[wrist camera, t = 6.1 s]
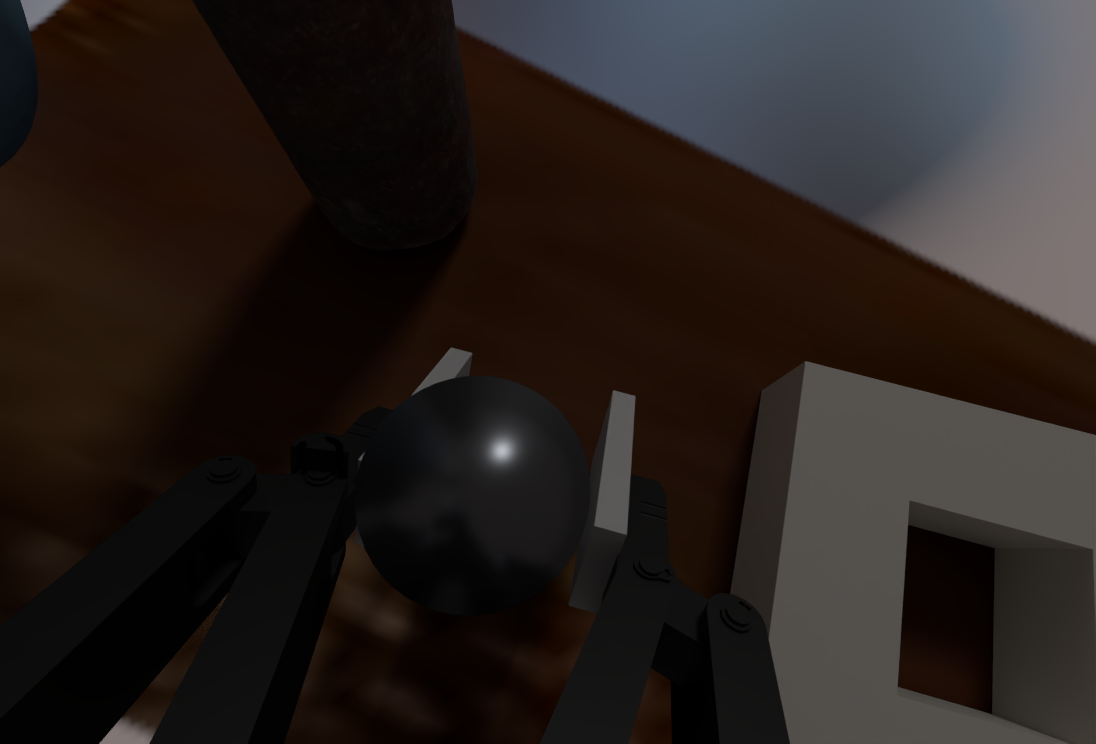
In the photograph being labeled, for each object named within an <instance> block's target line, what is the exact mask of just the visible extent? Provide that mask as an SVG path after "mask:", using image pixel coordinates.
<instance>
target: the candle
mask: <svg viewBox="0 0 1096 744" xmlns="http://www.w3.org/2000/svg"><path fill="white" fill-rule="evenodd" d="M192 1H193V2H194V4H195V6H196V7H197V9H198V11H199V12H200V14H201V16H202V17H203V19H204V20H205V22H206V23H207V25H208V26H209V28H210V30H211V31H212V33H213V35H214V37H215V38H216V40H217V42H218V44H219V45H220V47H221V49H222V50H223V52H224V53H225V55H226V56H227V58H228V60H229V61H230V63H231V64H232V66H233V68H234V69H235V71H236V73H237V74H238V76H239V78H240V79H241V81H242V82H243V84H244V86H245V87H246V89H247V90H248V92H249V94H250V95H251V97H252V98H253V100H254V102H255V103H256V105H257V106H258V108H259V110H260V111H261V113H262V114H263V116H264V118H265V119H266V121H267V123H268V124H269V126H270V128H271V129H272V131H273V133H274V134H275V136H276V137H277V139H278V141H279V142H280V144H281V145H282V147H283V149H284V150H285V152H286V153H287V155H288V157H289V158H290V160H291V162H292V163H293V165H294V167H295V169H296V170H297V172H298V174H299V175H300V177H301V178H302V180H303V181H304V183H305V185H306V186H307V188H308V189H309V191H310V192H311V194H312V195H313V197H314V198H315V200H316V201H317V203H318V205H319V206H320V208H321V209H322V211H323V212H324V214H325V216H326V217H327V218H328V219H329V221H330V222H331V223H332V224H333V226H334V227H335V228H336V229H337V230H338V231H339V232H340V233H341V234H342V235H343V236H344V237H345V238H347V239H349V240H350V241H352V242H354V243H355V244H357V245H359V246H363V247H367V248H369V249H374V250H379V251H387V250H396V249H409V248H414V247H419V246H422V245H427V244H430V243H432V242H434V241H437V240H440V239H443V238H444V237H445V236H446V235H448V234H449V233H450V232H451V231H453V230H454V228H455V226H456V225H457V224H458V223H460V222H461V221H462V219H463V218H464V216H465V215H466V213H467V212H468V210H469V208H470V207H471V206H472V204H473V202H474V200H475V198H476V193H477V185H478V171H477V164H476V156H475V147H474V139H473V133H472V127H471V120H470V113H469V106H468V100H467V95H466V89H465V82H464V76H463V70H462V63H461V57H460V51H459V44H458V37H457V32H456V28H455V22H454V14H453V6H452V1H451V0H192Z"/></svg>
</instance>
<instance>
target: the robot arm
mask: <svg viewBox="0 0 1096 744" xmlns="http://www.w3.org/2000/svg"><path fill="white" fill-rule="evenodd" d="M37 101H38V79H37V65H36V58H35V53H34V49H33V44H32V39H31V35H30V31H29V28H28V24H27V21H26V17H25V14H24V10H23V7H22V4H21V2H20V0H0V167H1V166H2V165H4V164H5V163H6V162H7V161H8V160H10V159H11V158H12V157H13V156H14V155H15V154H16V153H17V151H18V150H19V149H20V148H21V146H22V145H23V143H24V142H25V140H26V138H27V136H28V134H29V132H30V130H31V128H32V125H33V121H34V117H35V113H36V108H37ZM471 359H472V353H470V352H466V351H462V350H458V349H454V348H450V349H449V351H448V352H447V353H446V354H445V356H444V357H443V358H442V359H441V360H440V362H439V363H438V364H437V365H436V366H435V368H434V369H433V370H432V371H431V372H430V374H429V375H428V376H427V377H426V378H425V380H424V381H423V382H422V383H421V385H420V386H419V387H418V388H417V389H416V391H415V392H414V393H413V394H412V395H414V394H415V393H417V392H419V391H420V390H422V389H424V388H426V387H429V386H431V385H433V384H435V383H438V382H442V381H445V380H448V379H452V378H458V377H464V376H469V372H470V366H471ZM412 395H411V396H412ZM634 409H635V396H632V395H629V394H625V393H621V392H617V391H613V393H612V396H611V399H610V402H609V406H608V409H607V412H606V416H605V419H604V422H603V426H602V429H601V432H600V436H599V439H598V442H597V446H596V449H595V452H594V456H593V462H592V468H591V474H590V488H591V490H590V506H589V512H588V518H587V522H586V525H585V528H584V531H583V535H582V537H581V539H580V541H579V545H578V551H577V557H576V563H575V569H574V575H573V581H572V587H571V593H570V599H569V606H572V607H576V608H579V609H583V610H586V611H589V612H593V613H596V614H597V616H596V618H595V621H594V623H593V625H592V627H591V630H590V632H589V634H588V636H587V639H586V641H585V643H584V645H583V648H582V650H581V652H580V654H579V657H578V659H577V661H576V663H575V666H574V668H573V670H572V672H571V675H570V677H569V679H568V681H567V684H566V686H565V688H564V690H563V693H562V695H561V697H560V699H559V702H558V704H557V706H556V708H555V711H554V713H553V715H552V717H551V719H550V722H549V724H548V726H547V728H546V731H545V733H544V735H543V737H542V740H541V742H540V744H628V742H629V738H630V735H631V732H632V728H633V725H634V722H635V718H636V715H637V711H638V708H639V705H640V701H641V698H642V695H643V691H644V688H645V685H646V681H647V678H648V675H649V671H650V668H652V669H654V670H655V671H657V672H658V673H660V674H661V675H663V676H664V677H666V678H668V679H669V680H671V719H672V744H790V741H789V736H788V731H787V726H786V721H785V717H784V712H783V707H782V702H781V697H780V692H779V687H778V682H777V678H776V673H775V668H774V663H773V658H772V653H771V648H770V644H769V639H768V634H767V629H766V625H765V623H764V621H763V618H762V616H761V615H760V614H759V612H758V611H757V610H756V609H755V607H754V606H752V605H751V604H750V603H748V602H747V601H746V600H744V599H743V598H740V597H738V596H736V595H733V594H728V593H719V594H716V595H713V596H712V597H711V598H710V599H709V600H708V599H707V598H705V597H703V596H701V595H700V594H698V593H696V592H694V591H693V590H691V589H690V588H688V587H687V586H685V585H684V584H683V583H682V582H681V581H680V580H679V579H678V578H677V577H676V572H675V570H674V568H673V565H672V564H671V563H670V562H669V555H668V526H667V511H666V510H667V497H666V493H665V492H664V490H663V488H662V486H661V484H660V483H659V482H658V481H654V480H651V479H647V478H643V477H640V476H636V475H632V474H631V458H632V442H633V425H634ZM392 411H393V410H390V409H386V408H383V407H379V406H378V407H376V408H374V409H371V410H369V411H367V412H365V413H363V414H362V415H361V416H360V418H359V419H358V420H357V421H356V422H355V423H354V425H352V426H351V427H350V428H349V429H348V430H347V432H346V433H345V434H344V435H343V436H342V437H340V436H338V435H334V434H330V433H313V434H309V435H305V436H303V437H301V438H299V439H297V440H296V441H295V442H294V443H293V444H292V445H291V446H290V447H291V474H258V473H256V466H255V465H254V463H253V462H252V461H251V460H249V459H247V458H245V457H242V456H235V455H228V456H219V457H215V458H212V459H209V460H207V461H205V462H203V463H202V464H200V465H198V466H197V467H196V468H194V469H193V470H192V471H191V472H189V473H188V474H187V475H186V476H185V477H183V478H182V479H181V480H180V481H178V482H177V483H176V484H175V485H173V486H172V487H171V488H170V489H168V490H167V491H166V492H165V493H163V494H162V495H161V496H160V497H159V498H157V499H156V500H155V501H154V502H152V503H151V504H150V505H149V506H147V507H146V508H145V509H144V510H142V511H141V512H140V513H139V514H137V515H136V516H135V517H134V518H133V519H131V520H130V521H129V522H128V523H126V524H125V525H124V526H123V527H121V528H120V529H119V530H118V531H116V532H115V533H114V534H113V535H111V536H110V537H109V538H108V539H107V540H105V541H104V542H103V543H102V544H100V545H99V546H98V547H97V548H95V549H94V550H93V551H92V552H90V553H89V554H88V555H87V556H86V557H84V558H83V559H82V560H81V561H79V562H78V563H77V564H76V565H74V566H73V567H72V568H71V569H69V570H68V571H67V572H66V573H64V574H63V575H62V576H61V577H60V578H58V579H57V580H56V581H55V582H53V583H52V584H51V585H50V586H48V587H47V588H46V589H45V590H43V591H42V592H41V593H40V594H38V595H37V596H36V597H35V598H34V599H32V600H31V601H30V602H29V603H27V604H26V605H25V606H24V607H22V608H21V609H20V610H19V611H17V612H16V613H15V614H14V615H13V616H11V617H10V618H9V619H8V620H6V621H5V622H4V623H3V624H1V625H0V744H99V743H100V742H101V741H102V740H103V738H104V737H105V736H106V735H107V734H108V732H109V731H110V730H111V729H112V728H113V727H114V726H115V724H116V723H117V722H118V721H119V720H120V718H121V717H122V716H123V715H124V714H125V713H126V711H127V710H128V709H129V708H130V707H131V706H132V704H133V703H134V702H135V701H136V700H137V699H138V697H139V696H140V695H141V694H142V693H143V692H144V690H145V689H146V688H147V687H148V686H149V685H150V683H151V682H152V681H153V680H154V679H155V678H156V676H157V675H158V674H159V673H160V672H161V671H162V669H163V668H164V667H165V666H166V665H167V664H168V662H169V661H170V660H171V659H172V658H173V657H174V655H175V654H176V653H177V652H178V651H179V650H180V648H181V647H182V646H183V645H184V644H185V642H186V641H187V640H188V639H189V638H190V637H191V635H192V634H193V633H194V632H195V631H196V630H197V628H198V627H199V626H200V625H201V624H202V623H203V621H204V620H205V619H206V618H207V617H208V616H209V614H210V613H211V612H212V611H213V610H214V609H215V607H216V606H217V605H218V604H219V603H220V602H221V600H222V599H223V598H224V597H225V596H226V595H227V593H228V592H229V593H228V595H227V597H226V599H225V600H224V602H223V604H222V606H221V608H220V610H219V612H218V614H217V616H216V618H215V620H214V621H213V623H212V625H211V627H210V629H209V631H208V633H207V635H206V637H205V639H204V641H203V642H202V644H201V646H200V648H199V650H198V652H197V654H196V656H195V658H194V660H193V662H192V663H191V665H190V667H189V669H188V671H187V673H186V675H185V677H184V679H183V681H182V682H181V684H180V686H179V688H178V690H177V692H176V694H175V696H174V698H173V700H172V702H171V703H170V705H169V707H168V709H167V711H166V713H165V715H164V717H163V719H162V721H161V723H160V724H159V726H158V728H157V730H156V732H155V734H154V736H153V738H152V740H151V742H150V744H284V742H285V739H286V735H287V732H288V729H289V726H290V723H291V720H292V717H293V714H294V711H295V708H296V705H297V702H298V699H299V695H300V692H301V689H302V686H303V683H304V680H305V677H306V674H307V671H308V668H309V665H310V662H311V659H312V655H313V652H314V649H315V646H316V643H317V640H318V637H319V634H320V631H321V628H322V625H323V622H324V619H325V615H326V612H327V609H328V606H329V603H330V600H331V597H332V594H333V591H334V588H335V585H336V582H337V579H338V575H339V572H340V569H341V566H342V563H343V560H344V557H345V550H346V541H347V539H348V538H349V536H350V535H351V534H352V532H353V531H354V529H355V544H359V545H362V546H364V545H363V542H362V539H361V537H360V534H359V530H358V525H357V521H356V512H355V487H356V481H357V475H358V470H359V467H360V464H361V461H362V457H363V455H364V453H365V450H366V448H367V446H368V444H369V442H370V440H371V438H372V437H373V435H374V433H375V432H376V430H377V429H378V427H379V426H380V425H381V424H382V422H383V421H384V420H385V418H386V417H387V416H388V415H389V414H390V413H391V412H392ZM601 604H602V605H601ZM600 606H601V607H600Z"/></svg>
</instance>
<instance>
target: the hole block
mask: <svg viewBox="0 0 1096 744" xmlns="http://www.w3.org/2000/svg"><path fill="white" fill-rule="evenodd" d="M908 525H911V526H915V527H918V528H922V529H926V530H929V531H933V532H937V533H940V534H944V535H948V536H952V537H955V538H959V539H963V540H966V541H970V542H974V543H977V544H981V545H985V546H989V547H992V548H995V571H994V628H993V686H992V714H989V713H986V712H983V711H979V710H976V709H972V708H969V707H965V706H962V705H958V704H955V703H951V702H948V701H944V700H941V699H938V698H934V697H931V696H927V695H924V694H920V693H917V692H913V691H910V690H906V689H903V688H899V687H897V685H898V670H899V654H900V639H901V623H902V608H903V593H904V577H905V562H906V546H907V531H908ZM730 594H733V595H736V596H738V597H740V598H743V599H744V600H746V601H747V602H748V603H750V604H751V605H752V606H754V607H755V609H756V610H757V611H758V612H759V614H760V615H761V616H762V618H763V621H764V623H765V625H766V629H767V634H768V639H769V644H770V648H771V653H772V658H773V663H774V668H775V673H776V678H777V682H778V687H779V692H780V697H781V702H782V707H783V712H784V717H785V721H786V726H787V731H788V736H789V741H790V744H1096V435H1092V434H1088V433H1085V432H1081V431H1077V430H1073V429H1069V428H1065V427H1061V426H1057V425H1053V424H1049V423H1045V422H1041V421H1037V420H1034V419H1030V418H1026V417H1022V416H1018V415H1014V414H1010V413H1006V412H1002V411H998V410H994V409H990V408H986V407H983V406H979V405H975V404H971V403H967V402H963V401H959V400H955V399H951V398H947V397H943V396H939V395H935V394H932V393H928V392H924V391H920V390H916V389H912V388H908V387H904V386H900V385H896V384H892V383H888V382H885V381H881V380H877V379H873V378H869V377H865V376H861V375H857V374H853V373H849V372H845V371H841V370H837V369H834V368H830V367H826V366H822V365H818V364H814V363H810V362H806V361H805V362H804V363H802V364H801V365H799V366H798V367H796V368H795V369H793V370H792V371H790V372H789V373H788V374H786V375H785V376H783V377H782V378H780V379H779V380H777V381H776V382H774V383H773V384H771V385H770V386H768V387H767V388H765V389H764V390H762V393H761V399H760V406H759V412H758V418H757V425H756V431H755V438H754V444H753V451H752V457H751V463H750V470H749V476H748V483H747V489H746V496H745V502H744V508H743V515H742V521H741V528H740V534H739V540H738V547H737V553H736V560H735V566H734V573H733V579H732V585H731V592H730Z"/></svg>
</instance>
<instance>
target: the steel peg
mask: <svg viewBox="0 0 1096 744" xmlns="http://www.w3.org/2000/svg"><path fill="white" fill-rule="evenodd" d="M590 490H591V488H590V476H589V469H588V465H587V460H586V457H585V454H584V451H583V448H582V445H581V443H580V441H579V439H578V437H577V435H576V433H575V431H574V430H573V428H572V427H571V425H570V424H569V422H568V421H567V419H566V418H565V417H564V416H563V415H562V414H561V412H560V411H559V410H558V409H557V408H556V407H555V406H554V405H553V404H551V403H550V402H549V401H548V400H547V399H546V398H544V397H543V396H541V395H540V394H538V393H537V392H535V391H533V390H532V389H529V388H527V387H525V386H523V385H521V384H519V383H516V382H513V381H510V380H507V379H502V378H497V377H490V376H464V377H458V378H452V379H448V380H445V381H442V382H438V383H435V384H433V385H431V386H429V387H426V388H424V389H422V390H420V391H419V392H417V393H415V394H414V395H412V396H410V397H409V398H407V399H406V400H405V401H404V402H402V403H401V404H400V405H399V406H397V407H396V408H395V409H394V410H393V411H392V412H391V413H390V414H389V415H388V416H387V417H386V418H385V420H384V421H383V422H382V424H381V425H380V426H379V427H378V429H377V430H376V432H375V433H374V435H373V437H372V438H371V440H370V442H369V444H368V446H367V448H366V450H365V453H364V455H363V457H362V461H361V464H360V467H359V470H358V475H357V481H356V487H355V512H356V521H357V525H358V530H359V534H360V537H361V539H362V542H363V545H364V548H365V550H366V552H367V554H368V556H369V557H370V559H371V561H372V563H373V564H374V566H375V567H376V568H377V570H378V571H379V573H380V574H381V575H382V577H383V578H384V579H385V580H386V581H387V582H388V583H389V584H390V585H391V586H392V587H393V588H395V589H396V590H397V591H399V592H400V593H401V594H402V595H404V596H405V597H407V598H408V599H410V600H412V601H414V602H416V603H417V604H419V605H421V606H424V607H427V608H429V609H432V610H435V611H438V612H443V613H448V614H453V615H467V616H469V615H483V614H489V613H493V612H498V611H502V610H504V609H507V608H510V607H513V606H515V605H518V604H519V603H521V602H523V601H525V600H527V599H529V598H531V597H532V596H534V595H535V594H536V593H538V592H539V591H541V590H542V589H543V588H545V587H546V586H547V585H548V584H549V583H550V582H551V581H552V580H553V579H554V578H555V577H556V576H557V575H558V574H559V573H560V572H561V570H562V569H563V568H564V567H565V566H566V564H567V563H568V561H569V560H570V558H571V556H572V555H573V553H574V552H575V550H576V548H577V546H578V544H579V541H580V539H581V537H582V535H583V531H584V528H585V525H586V522H587V518H588V512H589V506H590Z"/></svg>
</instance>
